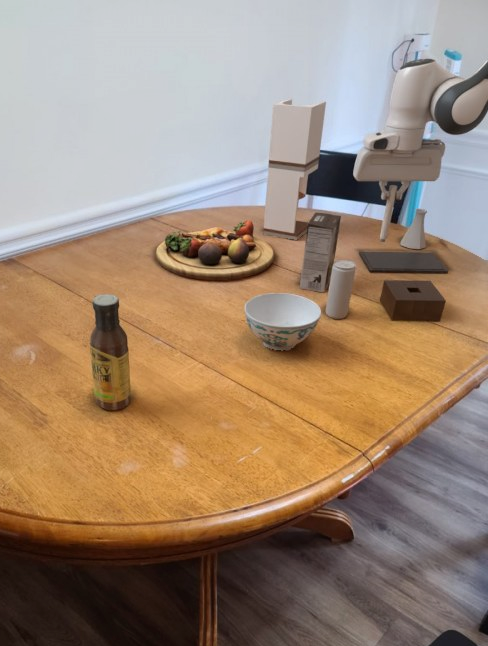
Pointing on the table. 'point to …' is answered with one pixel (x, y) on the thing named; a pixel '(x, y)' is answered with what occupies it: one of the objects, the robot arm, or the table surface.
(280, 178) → the coffee grinder
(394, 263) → the tablet
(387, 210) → the stylus
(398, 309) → the stand
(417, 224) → the flask
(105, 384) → the sauce bottle
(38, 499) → the table surface
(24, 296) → the table surface
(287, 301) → the chinaware
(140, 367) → the table surface
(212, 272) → the wooden plate
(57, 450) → the table surface
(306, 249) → the coffee box
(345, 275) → the beverage can
